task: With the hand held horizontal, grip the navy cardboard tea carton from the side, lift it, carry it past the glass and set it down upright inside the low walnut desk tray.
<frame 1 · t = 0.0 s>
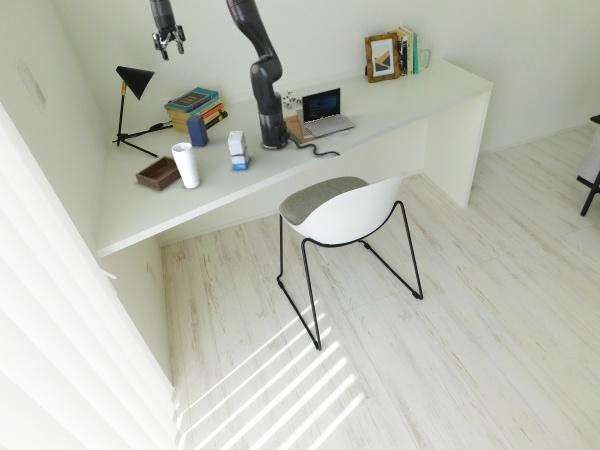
hand: (174, 57, 160), 29 cm above the table, tool pointing down, fingers open, 8 cm apart
ink box: (241, 164, 150), on the table
tea carton: (200, 142, 165), on the table
molecule model: (292, 105, 188), on the table
drinking glass: (192, 185, 141), on the table
desk tray: (164, 176, 147), on the table
laptop: (328, 127, 168), on the table
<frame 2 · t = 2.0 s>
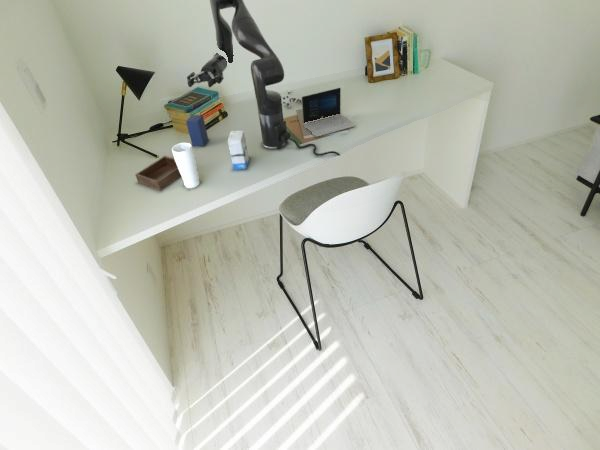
hand: (199, 84, 160), 20 cm above the table, tool horizontal, fingers open, 8 cm apart
nothing on the table moved.
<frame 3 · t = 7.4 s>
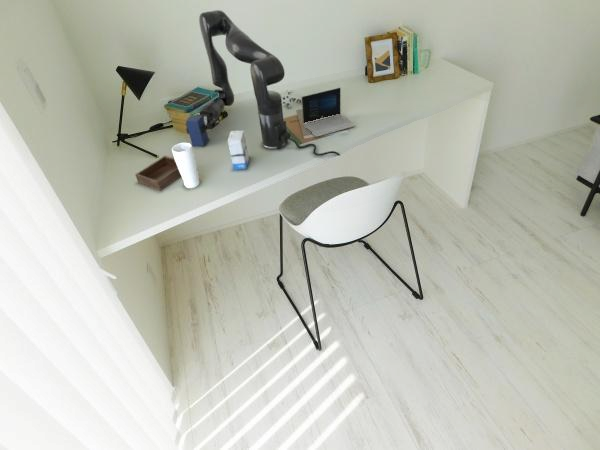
hand: (194, 131, 159), 7 cm above the table, tool horizontal, fingers closed on tea carton, 5 cm apart
tea carton: (200, 142, 165), on the table, touching gripper
everything else where it was.
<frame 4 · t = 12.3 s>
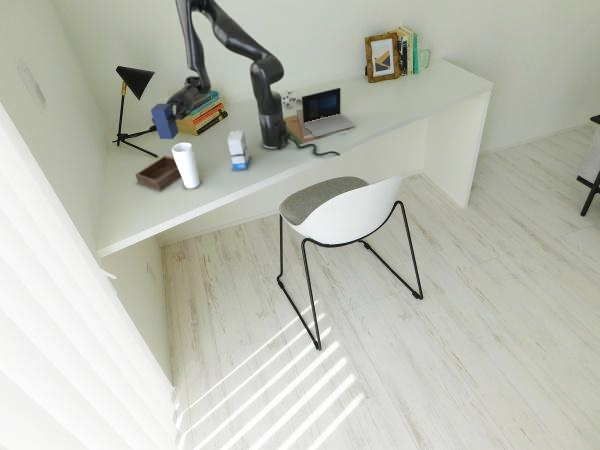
hand: (161, 121, 139), 19 cm above the table, tool horizontal, fingers closed on tea carton, 5 cm apart
tea carton: (169, 135, 146), point 12 cm above the table, touching gripper
everything else where it was.
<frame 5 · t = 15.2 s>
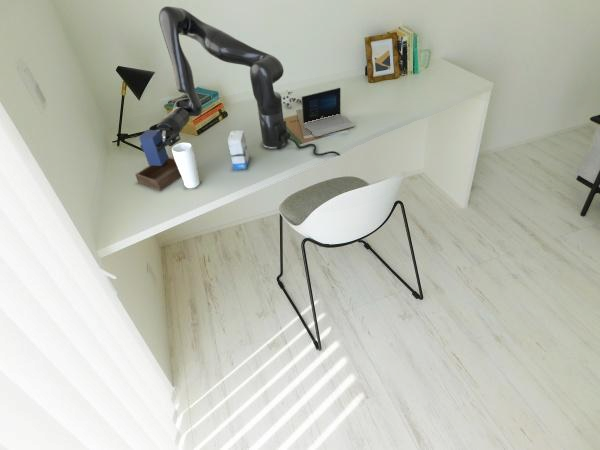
hand: (149, 149, 136), 13 cm above the table, tool horizontal, fingers closed on tea carton, 5 cm apart
tea carton: (158, 161, 143), point 6 cm above the table, touching gripper
everything else where it was.
when the fingers open (7 cm above the table, at t = 17.3 s): tea carton stays where it is, resting on desk tray.
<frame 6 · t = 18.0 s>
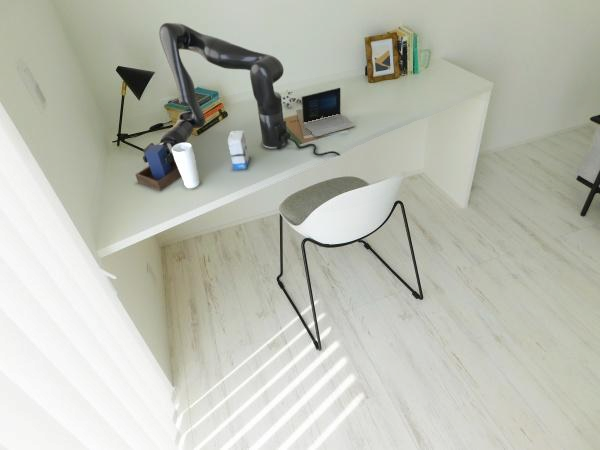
hand: (155, 160, 140), 8 cm above the table, tool horizontal, fingers open, 8 cm apart
tea carton: (163, 175, 146), point 1 cm above the table, touching desk tray
everything else where it was.
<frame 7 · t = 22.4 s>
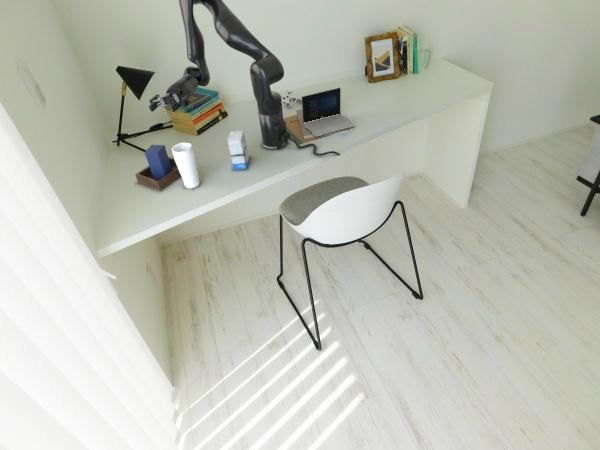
hand: (161, 109, 141), 21 cm above the table, tool horizontal, fingers open, 8 cm apart
nothing on the table moved.
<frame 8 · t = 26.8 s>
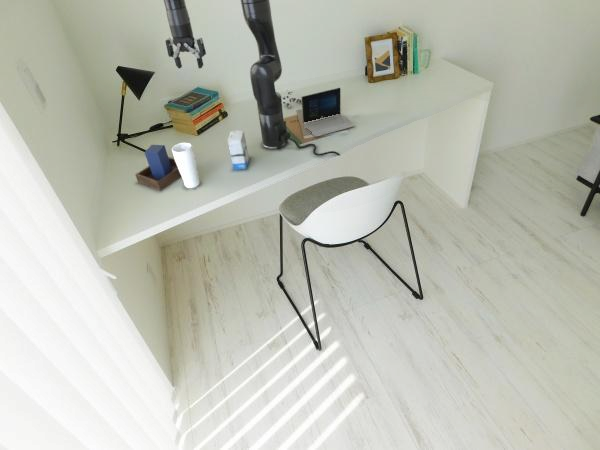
hand: (190, 67, 152), 28 cm above the table, tool pointing down, fingers open, 8 cm apart
nothing on the table moved.
at the end: tea carton inside the target area in the desk tray (0.2 cm from its centre), point 0.6 cm above the desk tray's base; tea carton tilted 0°; the gripper is holding nothing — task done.
